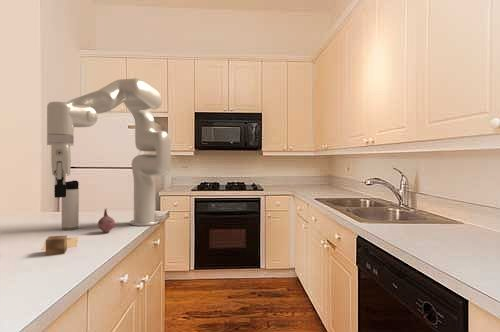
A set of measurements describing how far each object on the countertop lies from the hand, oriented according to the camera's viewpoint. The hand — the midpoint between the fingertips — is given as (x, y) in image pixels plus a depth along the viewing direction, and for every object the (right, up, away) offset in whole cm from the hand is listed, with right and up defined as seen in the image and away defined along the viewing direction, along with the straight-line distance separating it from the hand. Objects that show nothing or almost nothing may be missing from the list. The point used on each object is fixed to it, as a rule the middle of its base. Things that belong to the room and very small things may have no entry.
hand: (60, 197), depth 109 cm
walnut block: (+2, -17, -5) cm, 18 cm away
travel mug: (-14, -16, +32) cm, 38 cm away
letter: (-3, -17, +6) cm, 18 cm away
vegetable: (+5, -17, +24) cm, 30 cm away
